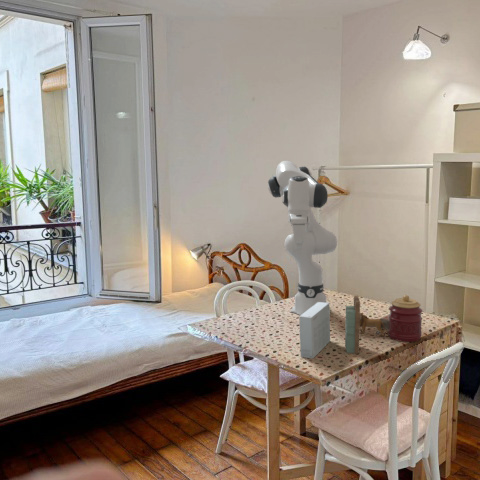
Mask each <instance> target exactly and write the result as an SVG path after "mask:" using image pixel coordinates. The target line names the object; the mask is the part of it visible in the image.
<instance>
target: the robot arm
mask: <svg viewBox="0 0 480 480" xmlns="http://www.w3.org/2000/svg"><path fill="white" fill-rule="evenodd" d="M267 189H268V192H269V193H270V195H272V197H273V198H275V199H277V198H281V197H282V204H283V205H284V206H285V207H286V208H287V209H286V210H287V222H288V223H290V225H291V227H292V233H291V234H288V235H287V236H286V237H285V240H284V244H283V245H284V249H285V251H286V252H287V254H288V255H289V256H290V257H292V258H293V259H294V261H295V262H296V265H297V269H298V283H297V293H296V294H295V295H294V305H293V306H292V308H291V309H290V312H291V313H294V314H297V315H299V316H300V315H302V314H303V313H304V312H306V311H307V310H308V309H310V308H311V307H312V306H314V305H315V304H316V303H317V302H324V303H327V295H326V294H325V293H324V283H323V274H324V273H323V268H322V266H321V265H320V264H319V263H317V262H315V261H314V260H313V258H312V256H317V255H326V254H331V253H333V252H334V251H335V250H336V249H337V246H338V239H337V236H336V235H335V233H333V232H331V231H330V230H329V229H326V228H325V227H323V225H321V224H320V223H319V222H318V221H317V219H316V218H315V216H314V213H313V211H312V208H315V209H316V208H318V209H321V208H323V206H325V205H326V204H327V201H328V195H329V194H328V190H327V187H326V186H325V185H324V184H323V183H321V182H320V183H319V181H318V180H316V179H315V178H314V177H313V175H312V172H311V170H310V169H309V168H308V167H307V166H299V167H298V166H297V164H295V163H294V162H293V161H291V160H282V161H280V162H279V163H278V164H277V166H276V168H275V175H274V174H272V177H270V178H269V180H268V182H267ZM329 311H330V314H331V309H329Z"/></svg>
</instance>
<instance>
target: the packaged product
mask: <svg viewBox="0 0 480 480" xmlns="http://www.w3.org/2000/svg"><path fill="white" fill-rule="evenodd" d="M389 315H390V313H389V314H387V315H384V316H383V317H381V318H378V319H379V320H381V321H382V322H383V324H384V328H385V330H387V331H388V329H389ZM374 328H376V326H375V327H374ZM381 328H382V330H384V329H383V326H382V325H381Z"/></svg>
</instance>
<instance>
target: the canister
mask: <svg viewBox="0 0 480 480" xmlns="http://www.w3.org/2000/svg"><path fill="white" fill-rule="evenodd" d="M388 310H389V314H390V315H389V314H388V315H389V329H388V330H387V331H388V332H387V333H388V337H389V338H390V339H392V340H394V341H397V342H403V343H413V342H414V343H415V342H417V341H418V342H419V341H420V340H421V338H422V335H423V334H422V321H423V317H422V313H423V308H421V303H420V302H418V301H417V300H416V299H413V298H410V296H409V295H407V294H404V295H403V296H402V297H399V298H396V299H394V300H392V301H391V305H389V307H388Z"/></svg>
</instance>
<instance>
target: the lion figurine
mask: <svg viewBox="0 0 480 480" xmlns="http://www.w3.org/2000/svg"><path fill="white" fill-rule="evenodd" d="M379 319H380V318H369V317H368V316H367V315H366V314H363V313H361V312H360V328H361V329H362V330H360V332H361V333H360V334H361V335H365V333H366V328H370V329H371V328H376V329H377V331H376V332H375V334H377V335H378V334H380V333H381V334H380V337H383V338H384V337H385V335H386V336H387V335H388V336H389V333H388V332H387V331H386V329H385V328H384V324H383V322H382V321H381V320H379ZM381 325H382V326H383V329H382V328H381ZM375 326H376V327H375Z"/></svg>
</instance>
